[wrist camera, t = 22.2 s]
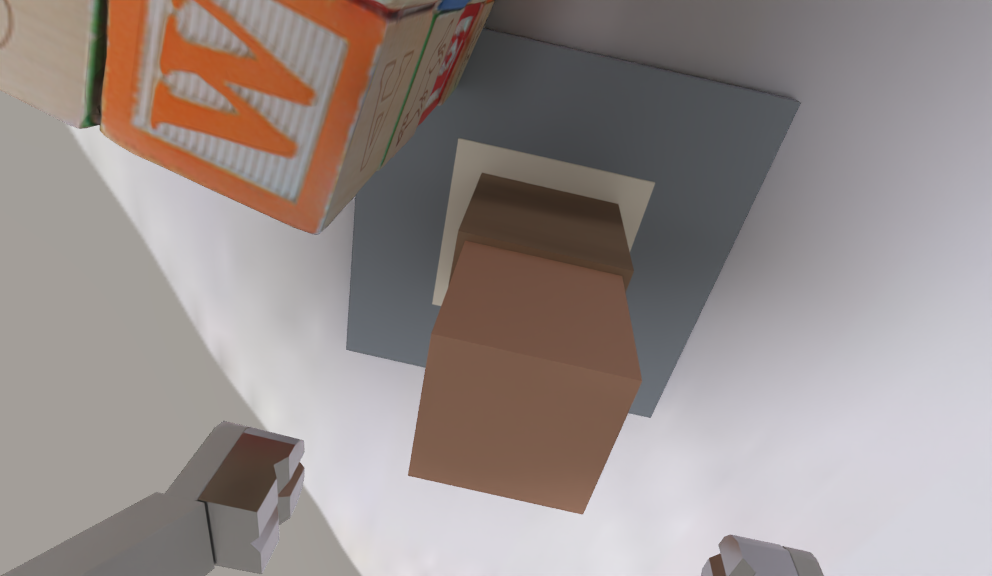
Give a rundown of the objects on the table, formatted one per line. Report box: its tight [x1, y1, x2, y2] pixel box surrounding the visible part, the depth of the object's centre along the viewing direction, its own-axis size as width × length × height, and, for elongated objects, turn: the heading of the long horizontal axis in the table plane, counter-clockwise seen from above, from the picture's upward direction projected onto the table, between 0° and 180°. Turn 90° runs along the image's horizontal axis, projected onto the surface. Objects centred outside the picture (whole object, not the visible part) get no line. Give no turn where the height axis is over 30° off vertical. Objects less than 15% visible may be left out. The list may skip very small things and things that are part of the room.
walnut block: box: [448, 173, 634, 293], centre depth 18 cm, size 5×5×5 cm
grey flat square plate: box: [346, 28, 801, 418], centre depth 21 cm, size 14×14×1 cm
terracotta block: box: [408, 241, 642, 514], centre depth 14 cm, size 4×4×4 cm
